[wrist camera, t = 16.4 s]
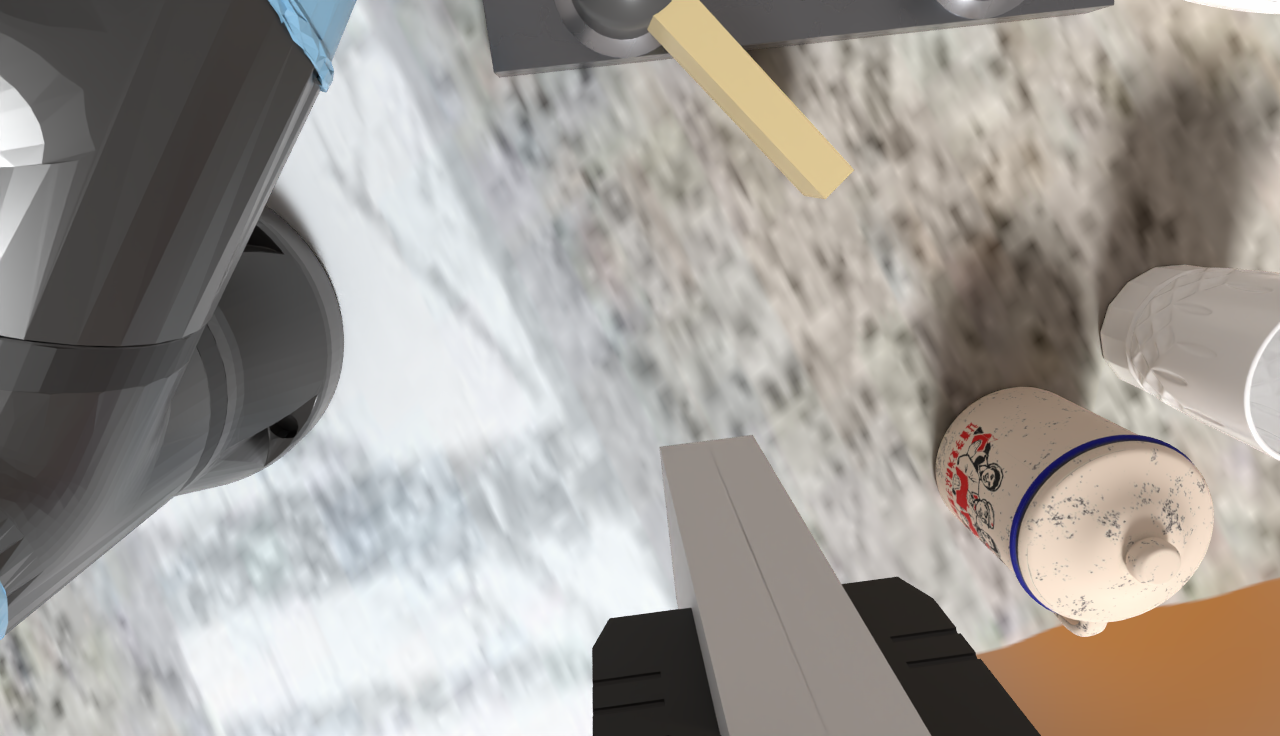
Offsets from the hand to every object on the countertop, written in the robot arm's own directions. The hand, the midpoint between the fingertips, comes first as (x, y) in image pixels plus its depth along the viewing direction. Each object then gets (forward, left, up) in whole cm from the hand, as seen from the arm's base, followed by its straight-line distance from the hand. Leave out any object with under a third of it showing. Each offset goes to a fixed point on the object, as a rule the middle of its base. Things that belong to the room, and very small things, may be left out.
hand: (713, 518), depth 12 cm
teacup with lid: (+20, -14, -27) cm, 36 cm away
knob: (+4, +9, -24) cm, 26 cm away
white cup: (+28, -6, -27) cm, 39 cm away
